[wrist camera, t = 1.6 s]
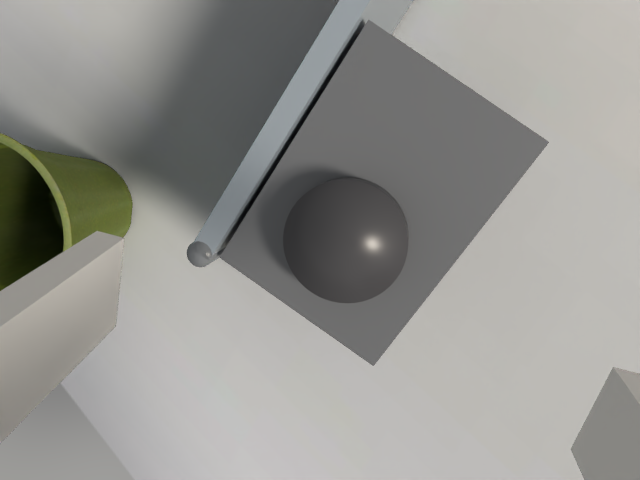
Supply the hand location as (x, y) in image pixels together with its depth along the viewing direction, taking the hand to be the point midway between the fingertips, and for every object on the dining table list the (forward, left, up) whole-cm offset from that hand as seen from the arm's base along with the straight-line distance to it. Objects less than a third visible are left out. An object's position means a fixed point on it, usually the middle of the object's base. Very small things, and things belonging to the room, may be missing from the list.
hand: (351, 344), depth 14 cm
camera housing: (+2, -1, -25) cm, 25 cm away
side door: (+8, -4, -24) cm, 26 cm away
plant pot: (+20, +13, -25) cm, 35 cm away
